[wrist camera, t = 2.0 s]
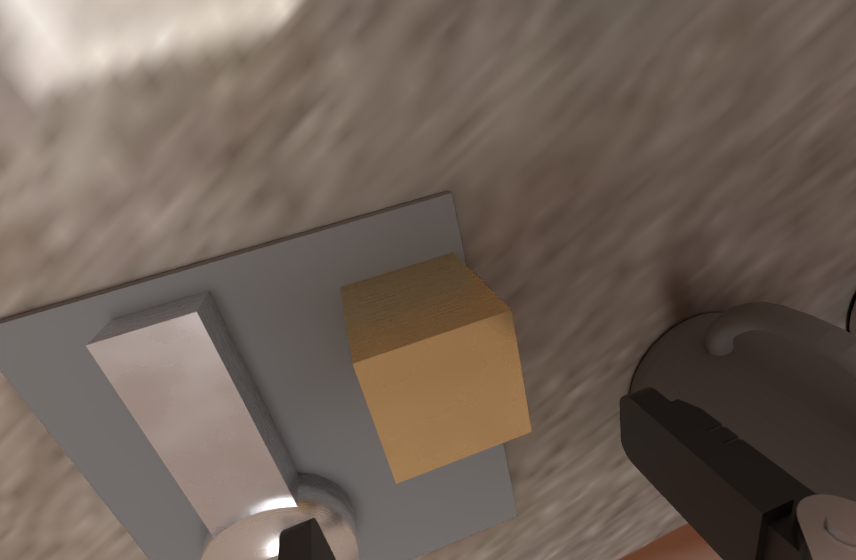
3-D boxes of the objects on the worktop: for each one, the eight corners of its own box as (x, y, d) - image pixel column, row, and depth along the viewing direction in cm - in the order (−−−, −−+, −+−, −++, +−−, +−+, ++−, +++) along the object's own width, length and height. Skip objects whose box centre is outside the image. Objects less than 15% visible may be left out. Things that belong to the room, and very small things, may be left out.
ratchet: (253, 276, 17) (228, 346, 12) (370, 544, 23) (386, 660, 18) (62, 333, 16) (-54, 436, 11) (242, 595, 22) (222, 733, 17)
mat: (447, 190, 18) (451, 192, 17) (513, 507, 26) (517, 515, 25) (-18, 324, 15) (-30, 332, 15) (216, 629, 23) (214, 641, 23)
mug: (762, 386, 28) (1046, 557, 17) (646, 460, 28) (861, 682, 17) (729, 212, 22) (1130, 305, 11) (582, 304, 22) (848, 489, 11)
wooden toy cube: (452, 252, 18) (511, 309, 13) (473, 347, 20) (531, 431, 15) (339, 287, 18) (352, 363, 12) (372, 382, 20) (396, 484, 14)
